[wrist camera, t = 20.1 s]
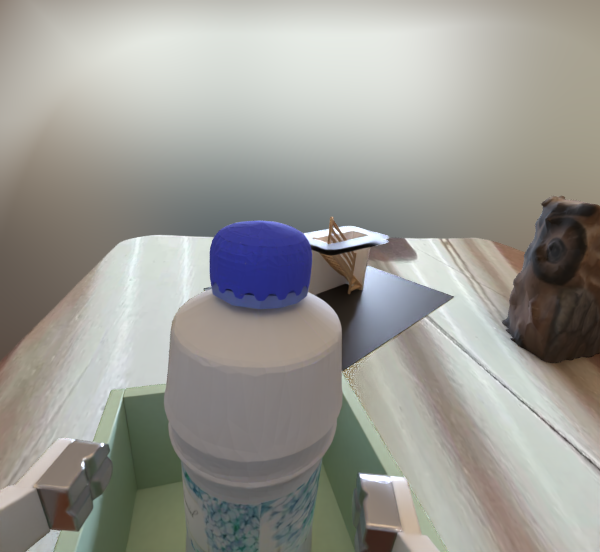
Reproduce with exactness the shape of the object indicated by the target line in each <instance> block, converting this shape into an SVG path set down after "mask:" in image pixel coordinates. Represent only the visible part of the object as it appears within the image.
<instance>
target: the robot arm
mask: <svg viewBox="0 0 600 552" xmlns="http://www.w3.org/2000/svg"><path fill="white" fill-rule="evenodd" d="M109 452H110V448H109V444H105V443H98V442H91V441H84V440H77V439H69V438H59V439H58V440H56V441H54V442H53V443H52V445H51V446H50V447H49V448H48V449H47V450H46V451H45V452H44V453H43V454H42V455H41V457H40V458H39V459H38V460H37V461H36V462H35V463H34V464H33V465H32V466H31V468H30V469H29V470H28V471H27V472H26V473H25V474H24V475H23V476H22V477H21V478H20V480H19V481H18V482H17V483H16V484H15V485H9V486H7V487H5V488H3V489H1V490H0V552H25V551H27V550H28V549H29V548H30V547H31V546H33V545H34V544H35V543H36V542H38V541H39V540H40V539H41V538H42V537H44V536H45V535H46V534H47V533H49V532H50V529H52V530H63V531H74V532H79V530H80V529H81V527H82V526H83V524H84V523H85V521H86V519H87V518H88V516H89V515H90V513H91V512H92V510H93V500H95V499H96V498H98V497H99V496H100V495H102V494H103V493H104V491H105V489H106V488H107V486H108V484H109V482H110V479H111V476H112V473H113V463H112V460H111V459H110V458H109V457H108V456H107V455H108V454H109ZM356 487H357V488H355V489H354V491H353V497H352V521H353V525H354V527H355V528H356V534H355V538H354V545H355V552H440V551H439V550H438V549H437V547H436V546H435V545H434V544H433V542H432V541H431V540H430V539H429V537H428V536H427V535H422V533H421V529H420V525H419V521H418V518H417V514H416V510H415V506H414V502H413V499H412V495H411V491H410V487H409V484H408V481H407V479H406V478H404V477H395V476H389V475H381V474H371V473H361V472H358V474H357V477H356Z"/></svg>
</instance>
